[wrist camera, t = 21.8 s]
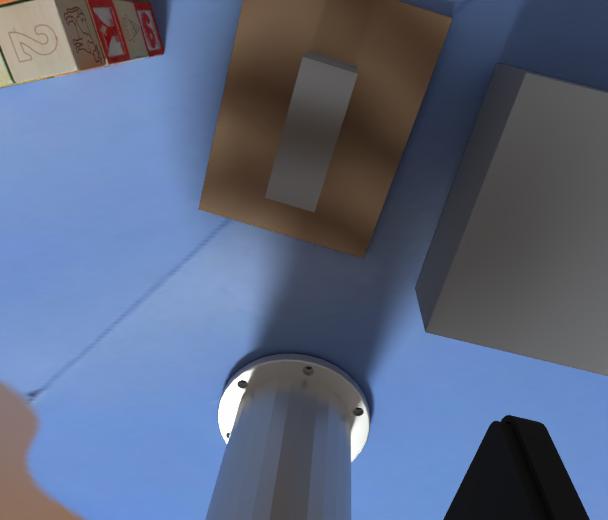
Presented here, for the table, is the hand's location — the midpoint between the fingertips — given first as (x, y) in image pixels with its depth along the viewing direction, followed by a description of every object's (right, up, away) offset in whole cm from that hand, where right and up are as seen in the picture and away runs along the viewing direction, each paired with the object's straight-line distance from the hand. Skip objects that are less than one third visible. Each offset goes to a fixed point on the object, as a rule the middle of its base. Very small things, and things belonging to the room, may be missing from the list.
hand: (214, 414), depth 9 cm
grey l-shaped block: (+21, +5, +27) cm, 34 cm away
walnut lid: (+2, +12, +26) cm, 29 cm away
